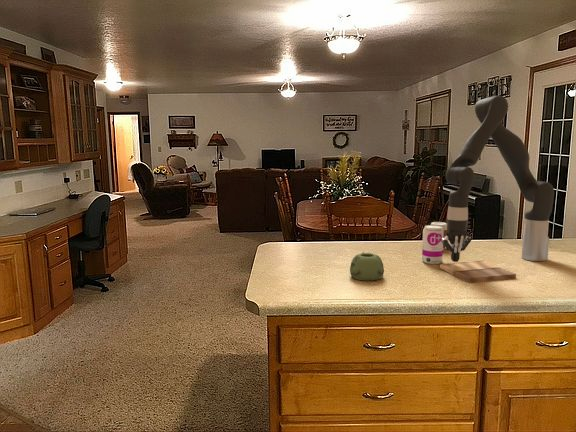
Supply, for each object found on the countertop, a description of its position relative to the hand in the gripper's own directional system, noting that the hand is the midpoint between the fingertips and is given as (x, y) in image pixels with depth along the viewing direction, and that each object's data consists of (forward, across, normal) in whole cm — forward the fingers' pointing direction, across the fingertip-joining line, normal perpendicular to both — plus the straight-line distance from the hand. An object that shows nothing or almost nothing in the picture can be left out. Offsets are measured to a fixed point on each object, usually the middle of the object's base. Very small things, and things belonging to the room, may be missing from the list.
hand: (455, 261), depth 190 cm
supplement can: (+4, +2, -13) cm, 14 cm away
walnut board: (+3, -5, +12) cm, 13 cm away
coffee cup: (+4, -14, -34) cm, 37 cm away
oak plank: (+3, -5, +2) cm, 6 cm away
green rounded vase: (+4, +37, -2) cm, 37 cm away
